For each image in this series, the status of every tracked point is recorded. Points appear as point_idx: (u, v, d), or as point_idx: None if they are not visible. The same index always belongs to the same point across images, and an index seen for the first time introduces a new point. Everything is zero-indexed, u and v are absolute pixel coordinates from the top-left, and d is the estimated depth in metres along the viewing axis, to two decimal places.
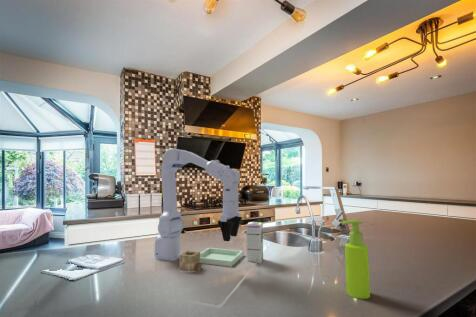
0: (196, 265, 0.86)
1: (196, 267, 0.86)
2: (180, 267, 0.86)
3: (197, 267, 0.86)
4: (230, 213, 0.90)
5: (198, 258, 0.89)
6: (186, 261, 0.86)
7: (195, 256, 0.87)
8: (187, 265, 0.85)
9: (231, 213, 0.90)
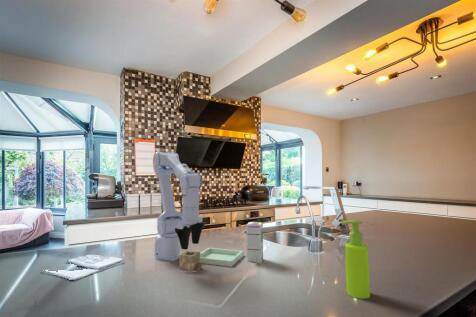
0: (196, 265, 0.86)
1: (196, 267, 0.86)
2: (180, 267, 0.86)
3: (197, 267, 0.86)
4: (189, 220, 0.86)
5: (198, 258, 0.89)
6: (186, 261, 0.86)
7: (195, 256, 0.87)
8: (187, 265, 0.85)
9: (190, 220, 0.86)
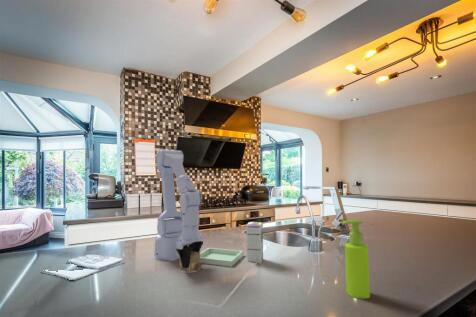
0: (196, 265, 0.86)
1: (196, 267, 0.86)
2: (180, 267, 0.86)
3: (197, 267, 0.86)
4: (188, 239, 0.86)
5: (198, 258, 0.89)
6: None
7: (195, 256, 0.87)
8: None
9: (189, 239, 0.86)
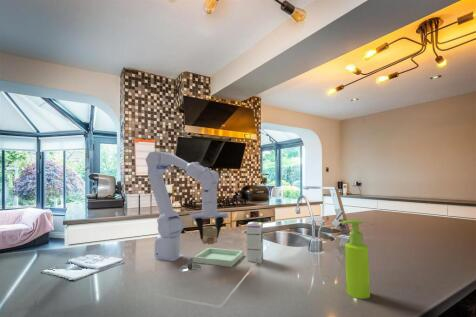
0: (207, 239, 0.92)
1: (207, 241, 0.92)
2: None
3: (208, 241, 0.91)
4: (202, 213, 0.94)
5: (214, 234, 0.93)
6: None
7: (208, 231, 0.93)
8: None
9: (203, 213, 0.94)
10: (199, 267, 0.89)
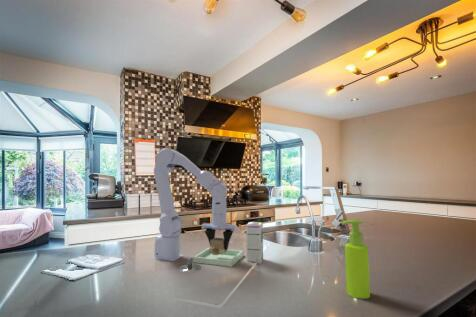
0: None
1: None
2: None
3: None
4: (212, 224, 0.99)
5: (219, 245, 0.96)
6: None
7: (214, 241, 0.97)
8: None
9: (211, 224, 0.99)
10: (199, 267, 0.89)
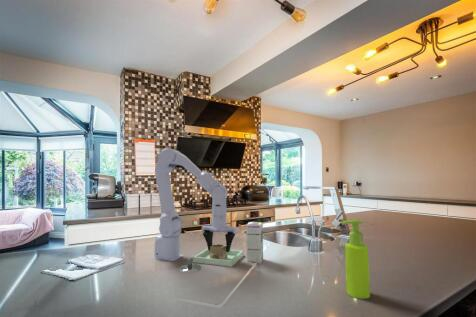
0: None
1: None
2: None
3: None
4: (211, 226, 0.99)
5: (219, 252, 0.96)
6: None
7: (214, 248, 0.96)
8: None
9: (211, 226, 0.99)
10: (199, 267, 0.89)
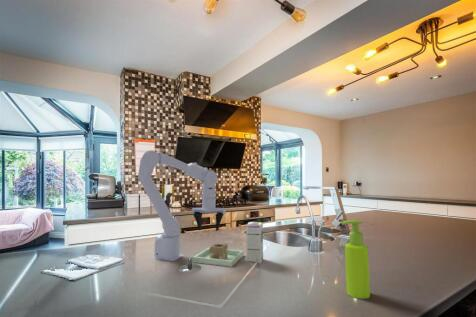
0: None
1: None
2: None
3: None
4: (202, 207, 1.07)
5: (219, 252, 0.96)
6: None
7: (214, 248, 0.96)
8: None
9: (202, 208, 1.07)
10: (199, 267, 0.89)
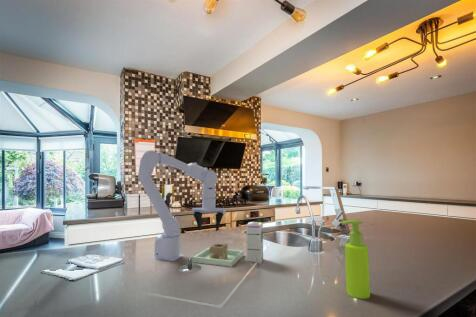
0: None
1: None
2: None
3: None
4: (202, 207, 1.07)
5: (219, 252, 0.96)
6: None
7: (214, 248, 0.96)
8: None
9: (202, 208, 1.07)
10: (199, 267, 0.89)
